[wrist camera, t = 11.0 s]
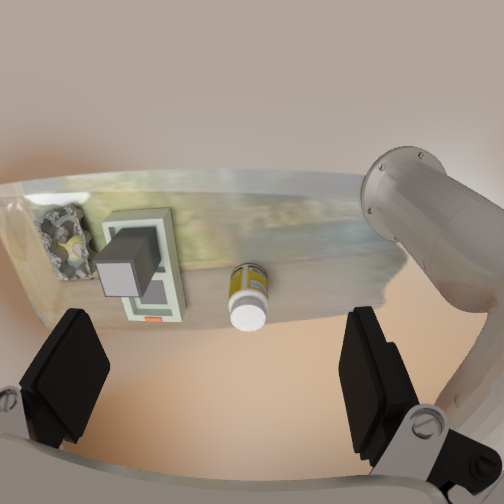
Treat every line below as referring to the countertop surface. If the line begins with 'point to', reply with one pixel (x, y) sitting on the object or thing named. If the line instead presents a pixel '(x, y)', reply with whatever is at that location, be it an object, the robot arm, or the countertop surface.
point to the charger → (128, 262)
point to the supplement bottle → (248, 297)
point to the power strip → (166, 275)
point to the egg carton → (63, 235)
